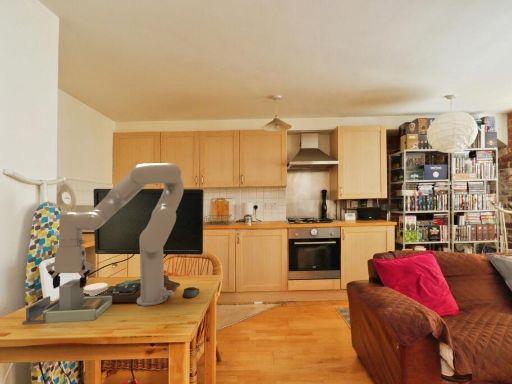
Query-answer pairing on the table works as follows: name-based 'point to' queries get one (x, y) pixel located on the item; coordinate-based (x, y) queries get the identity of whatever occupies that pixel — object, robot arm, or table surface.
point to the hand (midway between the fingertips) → (69, 287)
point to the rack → (77, 311)
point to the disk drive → (126, 287)
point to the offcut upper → (92, 304)
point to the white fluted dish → (95, 288)
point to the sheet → (71, 296)
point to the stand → (38, 310)
